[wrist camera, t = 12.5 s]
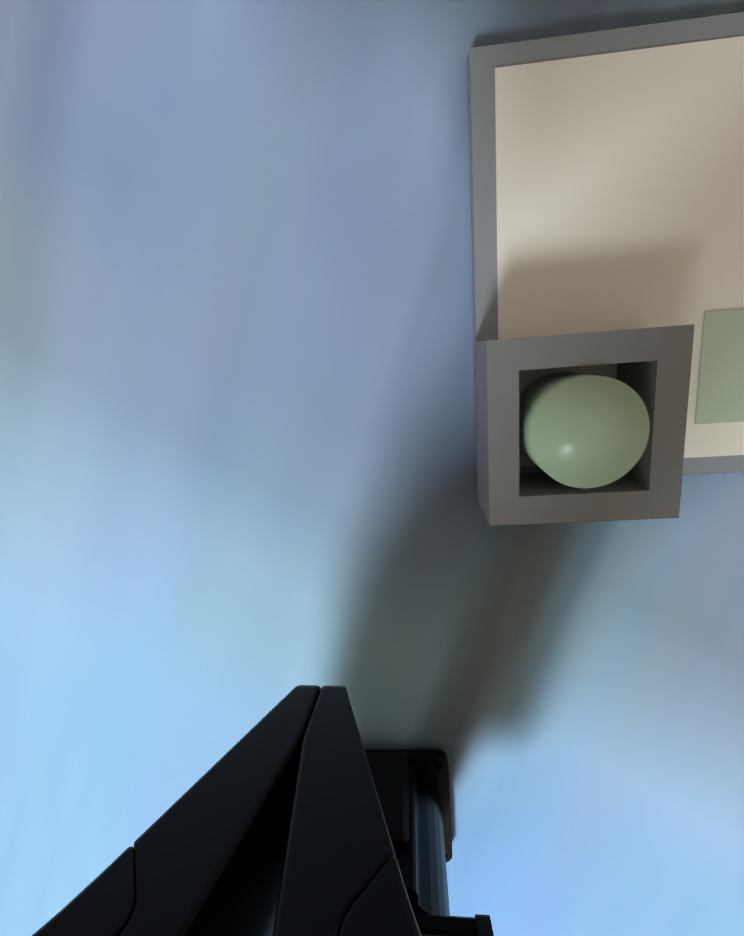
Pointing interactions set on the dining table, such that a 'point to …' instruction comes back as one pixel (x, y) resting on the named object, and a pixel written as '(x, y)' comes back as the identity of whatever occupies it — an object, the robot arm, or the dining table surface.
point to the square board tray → (610, 252)
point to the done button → (582, 428)
